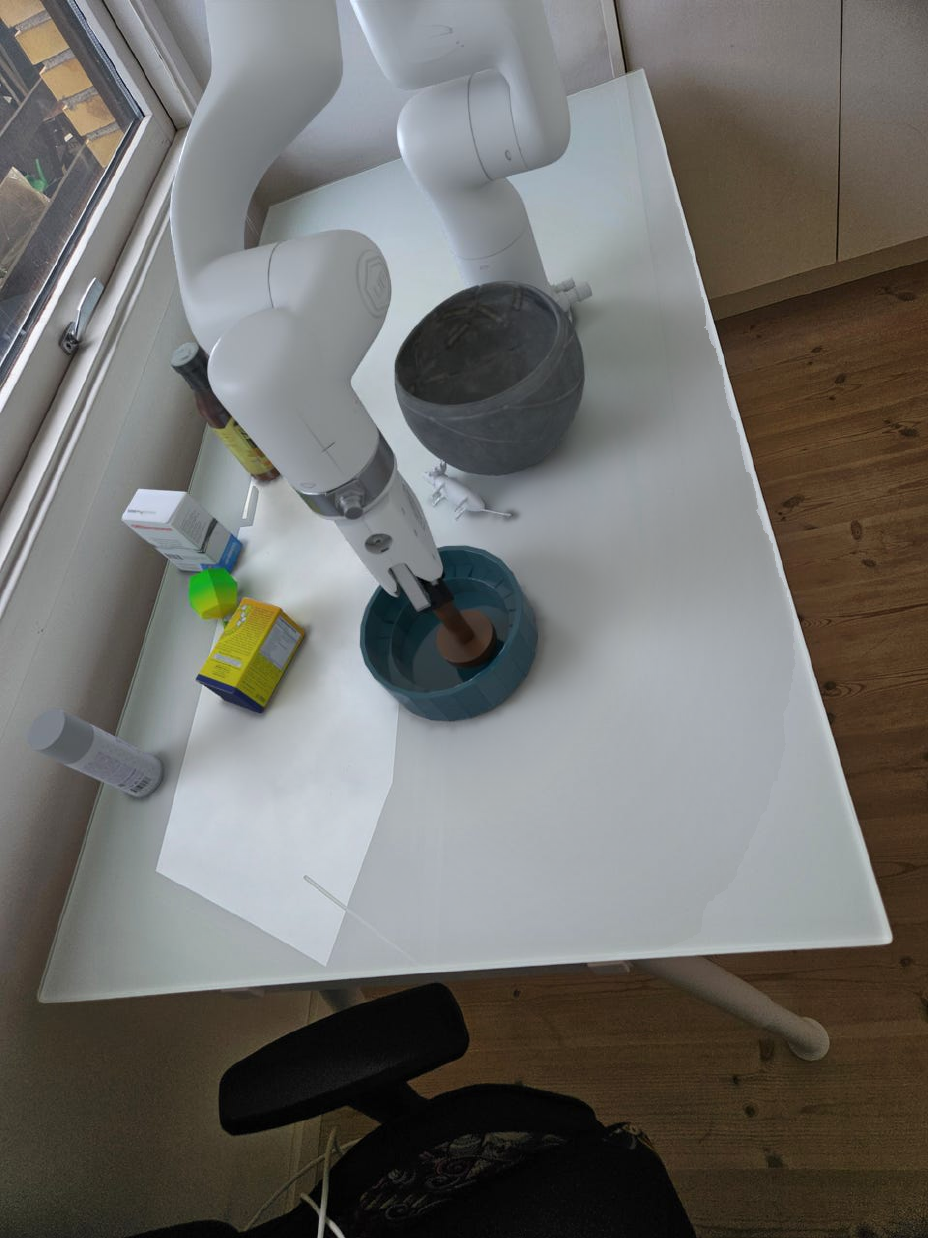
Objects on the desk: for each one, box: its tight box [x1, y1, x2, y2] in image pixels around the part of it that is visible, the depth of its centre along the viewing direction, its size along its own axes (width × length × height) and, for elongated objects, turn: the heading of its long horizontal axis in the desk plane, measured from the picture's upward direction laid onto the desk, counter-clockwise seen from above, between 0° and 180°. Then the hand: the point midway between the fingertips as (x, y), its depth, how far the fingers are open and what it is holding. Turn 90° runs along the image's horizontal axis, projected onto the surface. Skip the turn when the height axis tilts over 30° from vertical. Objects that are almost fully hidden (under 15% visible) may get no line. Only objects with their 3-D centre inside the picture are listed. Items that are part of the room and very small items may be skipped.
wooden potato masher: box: [416, 576, 497, 669], centre depth 76 cm, size 6×6×16 cm
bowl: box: [393, 281, 586, 477], centre depth 91 cm, size 21×21×15 cm
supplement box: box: [194, 596, 307, 715], centre depth 91 cm, size 6×6×11 cm
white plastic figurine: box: [421, 459, 513, 522], centre depth 93 cm, size 12×5×5 cm
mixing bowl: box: [359, 544, 539, 723], centre depth 83 cm, size 17×17×6 cm
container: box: [27, 707, 164, 798], centre depth 86 cm, size 5×5×15 cm
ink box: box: [120, 488, 243, 575], centre depth 101 cm, size 9×5×12 cm, turn 71°
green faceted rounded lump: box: [187, 568, 239, 631], centre depth 98 cm, size 7×6×9 cm
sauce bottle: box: [169, 341, 281, 482], centre depth 103 cm, size 6×6×20 cm
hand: (434, 592), depth 74 cm, fingers closed on wooden potato masher
